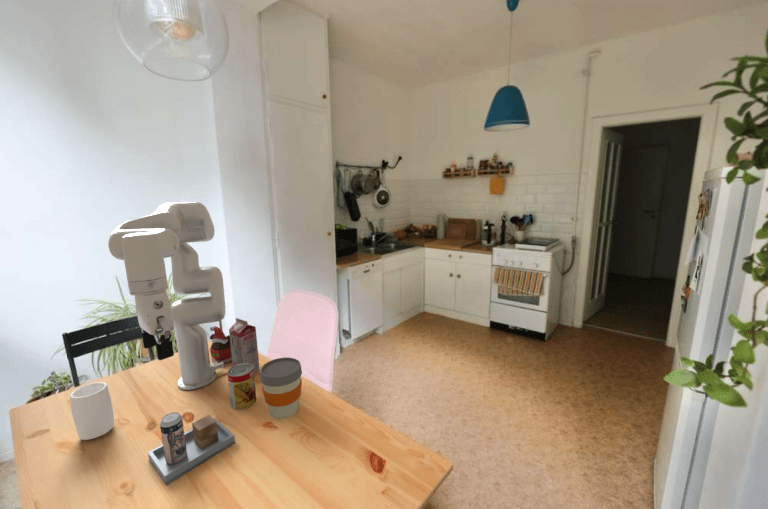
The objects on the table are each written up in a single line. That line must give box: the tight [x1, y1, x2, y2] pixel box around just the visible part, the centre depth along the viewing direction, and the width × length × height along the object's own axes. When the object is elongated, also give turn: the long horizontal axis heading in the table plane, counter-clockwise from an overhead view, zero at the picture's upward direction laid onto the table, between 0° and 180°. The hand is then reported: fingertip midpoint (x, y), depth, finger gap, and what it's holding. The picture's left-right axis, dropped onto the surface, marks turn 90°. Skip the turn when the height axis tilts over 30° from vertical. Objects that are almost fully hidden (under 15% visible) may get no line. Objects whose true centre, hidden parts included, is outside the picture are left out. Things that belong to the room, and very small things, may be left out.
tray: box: [147, 417, 236, 486], centre depth 89 cm, size 17×12×2 cm
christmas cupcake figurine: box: [209, 320, 232, 364], centre depth 137 cm, size 11×9×18 cm
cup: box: [69, 381, 115, 441], centre depth 95 cm, size 8×8×14 cm
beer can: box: [159, 411, 187, 464], centre depth 85 cm, size 5×5×12 cm
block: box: [191, 414, 218, 450], centre depth 91 cm, size 4×4×6 cm
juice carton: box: [228, 317, 261, 376], centre depth 126 cm, size 7×7×22 cm
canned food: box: [226, 363, 257, 411], centre depth 109 cm, size 8×8×12 cm
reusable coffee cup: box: [259, 357, 303, 420], centre depth 105 cm, size 12×13×15 cm
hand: (158, 351), depth 81 cm, fingers open, 9 cm apart
